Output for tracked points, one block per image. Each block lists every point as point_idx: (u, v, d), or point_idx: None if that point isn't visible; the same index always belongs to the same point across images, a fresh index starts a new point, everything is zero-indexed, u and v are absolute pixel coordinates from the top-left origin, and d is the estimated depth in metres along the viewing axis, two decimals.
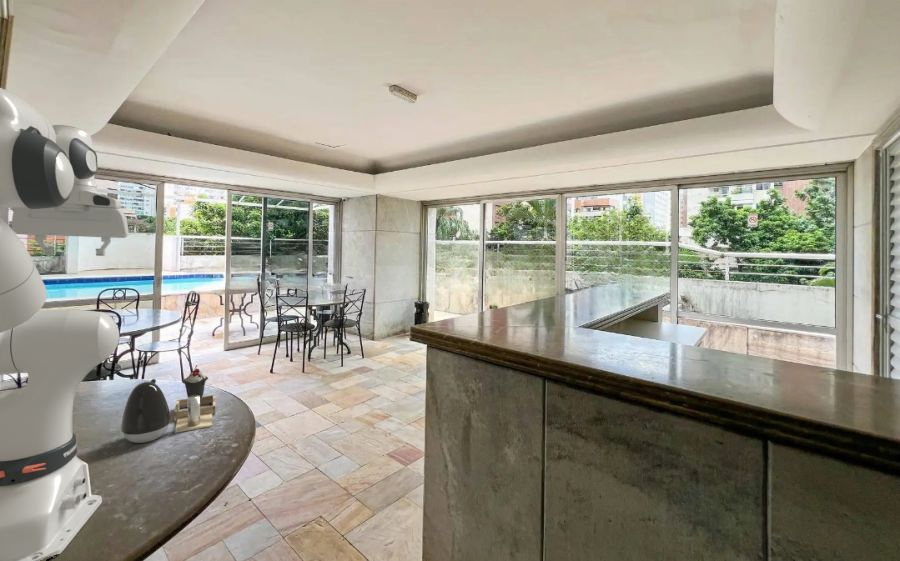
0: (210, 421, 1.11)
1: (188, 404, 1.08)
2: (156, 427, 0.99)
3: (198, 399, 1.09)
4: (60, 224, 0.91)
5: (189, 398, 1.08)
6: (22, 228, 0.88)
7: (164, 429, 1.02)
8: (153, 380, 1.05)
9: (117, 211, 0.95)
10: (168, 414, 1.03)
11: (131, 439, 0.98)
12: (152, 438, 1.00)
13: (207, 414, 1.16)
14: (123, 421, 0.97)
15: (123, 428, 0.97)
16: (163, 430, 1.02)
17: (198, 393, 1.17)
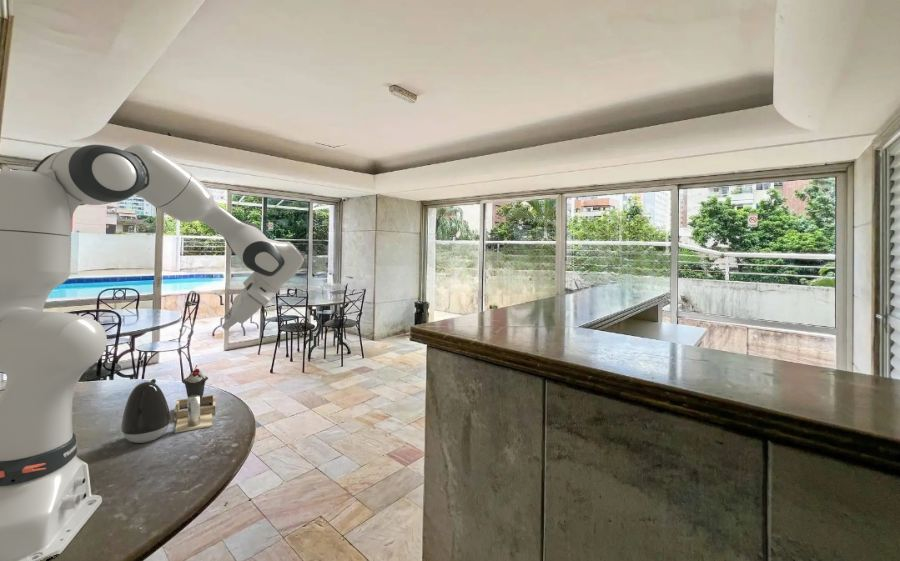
0: (210, 421, 1.11)
1: (188, 404, 1.08)
2: (156, 427, 0.99)
3: (198, 399, 1.09)
4: (238, 299, 1.15)
5: (189, 398, 1.08)
6: (235, 297, 1.20)
7: (164, 429, 1.02)
8: (153, 380, 1.05)
9: (245, 296, 1.06)
10: (168, 414, 1.03)
11: (131, 439, 0.98)
12: (152, 438, 1.00)
13: (207, 414, 1.16)
14: (123, 421, 0.97)
15: (123, 428, 0.97)
16: (163, 430, 1.02)
17: (198, 393, 1.17)
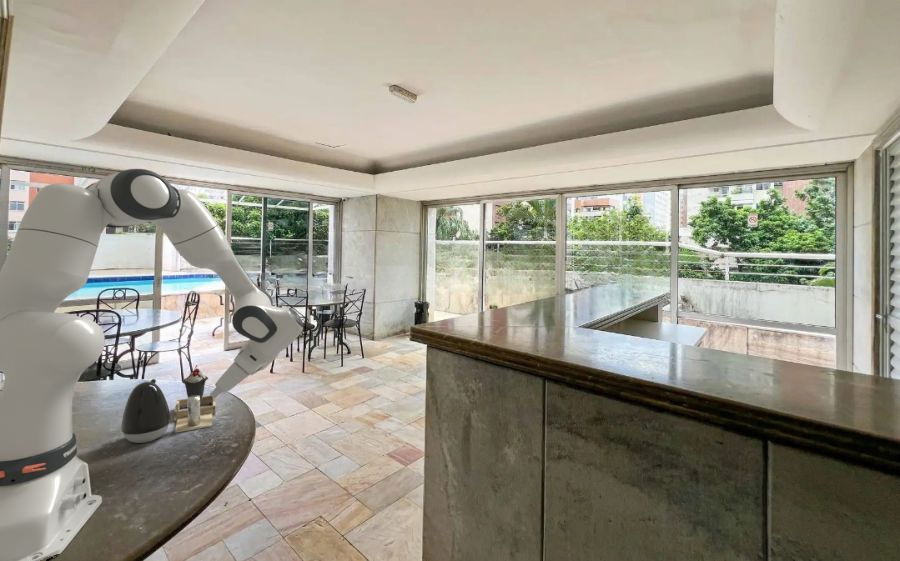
0: (210, 421, 1.11)
1: (188, 404, 1.08)
2: (156, 427, 0.99)
3: (198, 399, 1.09)
4: None
5: (189, 398, 1.08)
6: None
7: (164, 429, 1.02)
8: (153, 380, 1.05)
9: (231, 365, 1.02)
10: (168, 414, 1.03)
11: (131, 439, 0.98)
12: (152, 438, 1.00)
13: (207, 414, 1.16)
14: (123, 421, 0.97)
15: (123, 428, 0.97)
16: (163, 430, 1.02)
17: (198, 393, 1.17)
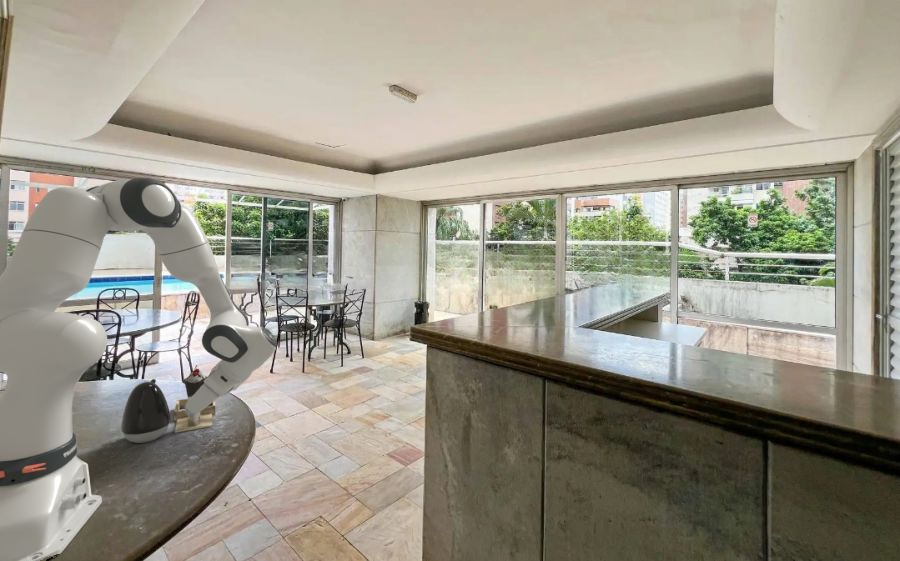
0: (210, 421, 1.11)
1: None
2: (156, 427, 0.99)
3: None
4: None
5: (189, 398, 1.08)
6: None
7: (164, 429, 1.02)
8: (153, 380, 1.05)
9: (201, 386, 1.01)
10: (168, 414, 1.03)
11: (131, 439, 0.98)
12: (152, 438, 1.00)
13: (207, 414, 1.16)
14: (123, 421, 0.97)
15: (123, 428, 0.97)
16: (163, 430, 1.02)
17: None
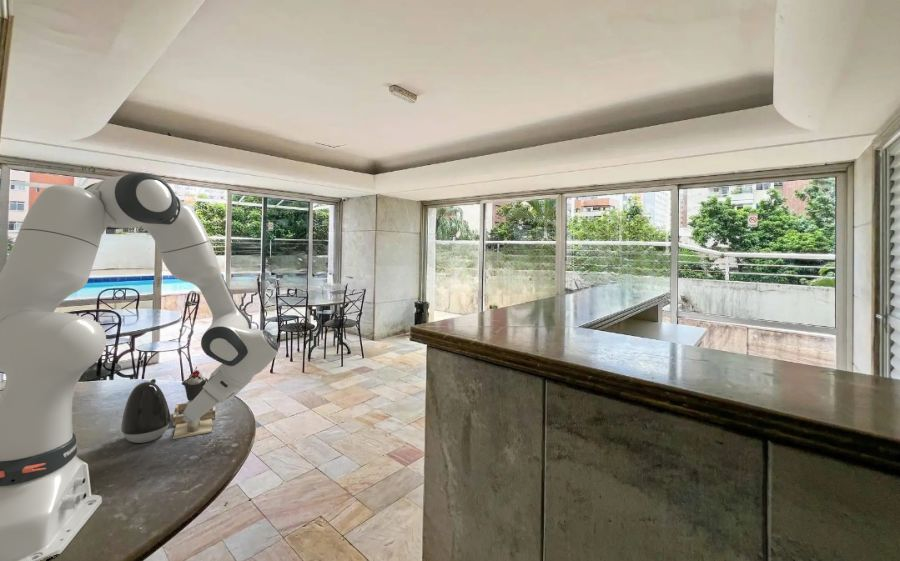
0: (210, 426, 1.08)
1: None
2: (156, 427, 0.99)
3: None
4: None
5: (188, 402, 1.05)
6: None
7: (164, 429, 1.02)
8: (153, 380, 1.05)
9: (200, 392, 0.97)
10: (168, 414, 1.03)
11: (131, 439, 0.98)
12: (152, 438, 1.00)
13: (206, 419, 1.13)
14: (123, 421, 0.97)
15: (123, 428, 0.97)
16: (163, 430, 1.02)
17: None
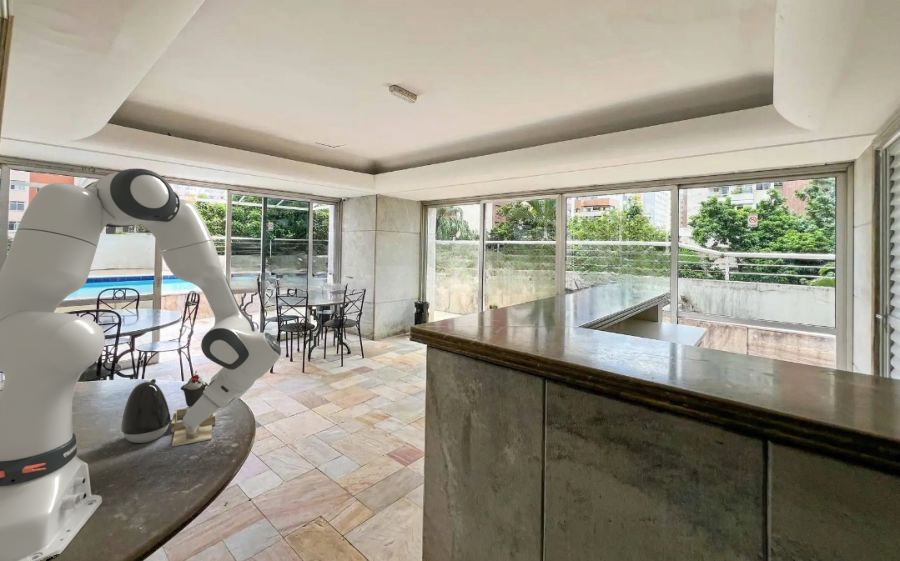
0: (210, 433, 1.04)
1: None
2: (156, 427, 0.99)
3: None
4: None
5: (187, 409, 1.01)
6: None
7: (164, 429, 1.02)
8: (153, 380, 1.05)
9: (200, 397, 0.94)
10: (168, 414, 1.03)
11: (131, 439, 0.98)
12: (152, 438, 1.00)
13: (206, 425, 1.09)
14: (123, 421, 0.97)
15: (123, 428, 0.97)
16: (163, 430, 1.02)
17: None
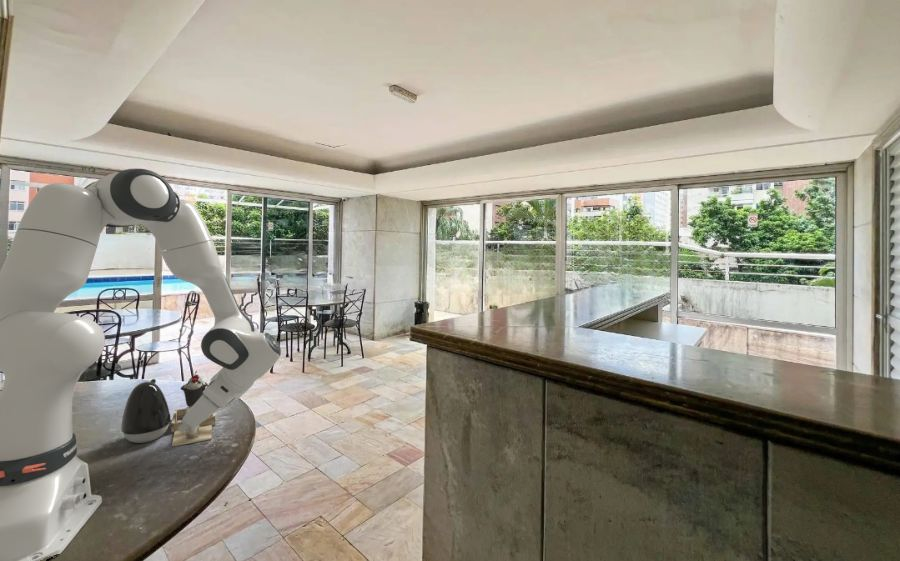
0: (210, 433, 1.04)
1: None
2: (156, 427, 0.99)
3: None
4: None
5: (187, 409, 1.01)
6: None
7: (164, 429, 1.02)
8: (153, 380, 1.05)
9: (200, 398, 0.94)
10: (168, 414, 1.03)
11: (131, 439, 0.98)
12: (152, 438, 1.00)
13: (206, 425, 1.09)
14: (123, 421, 0.97)
15: (123, 428, 0.97)
16: (163, 430, 1.02)
17: None
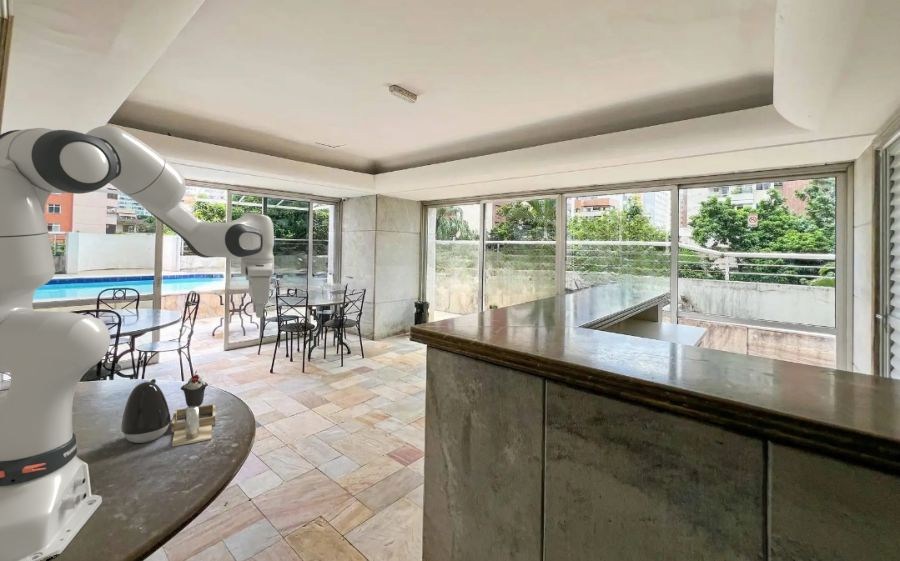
0: (210, 433, 1.04)
1: (186, 416, 1.00)
2: (156, 427, 0.99)
3: (197, 410, 1.02)
4: (250, 289, 1.15)
5: (187, 409, 1.01)
6: None
7: (164, 429, 1.02)
8: (153, 380, 1.05)
9: (250, 280, 1.06)
10: (168, 414, 1.03)
11: (131, 439, 0.98)
12: (152, 438, 1.00)
13: (206, 425, 1.09)
14: (123, 421, 0.97)
15: (123, 428, 0.97)
16: (163, 430, 1.02)
17: (198, 400, 1.12)
